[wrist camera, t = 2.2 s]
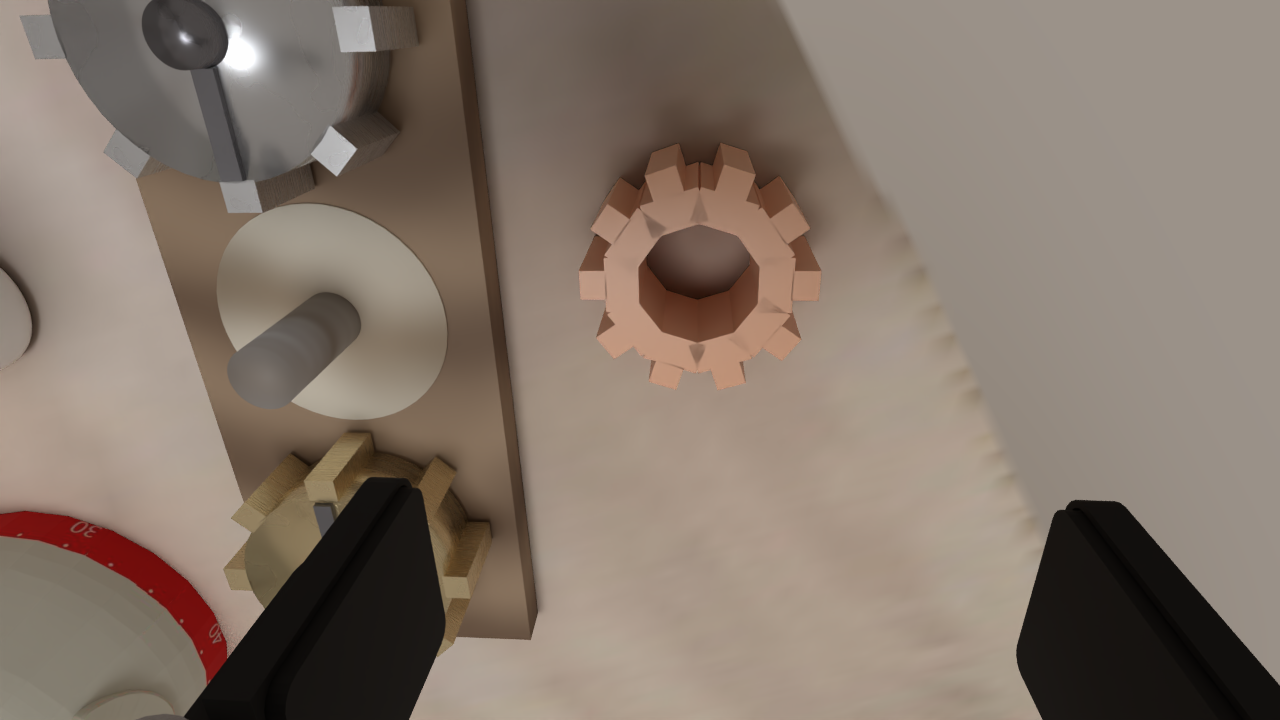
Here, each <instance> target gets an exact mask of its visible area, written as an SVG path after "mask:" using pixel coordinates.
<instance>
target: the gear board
mask: <svg viewBox="0 0 1280 720" xmlns="http://www.w3.org/2000/svg"><path fill="white" fill-rule="evenodd" d="M382 3H383V6H394V7H413V9H414V16H415V23H416V30H417V36H418V43H419V46H416V47H408V48H400V49H392V50H390V69H389V77H388V83H387V86H386V90H385V94H384V97H383V100H382V102H381V104H380V106H379V109H378V112H379V113H380V114H381V115H382V116H383V117H384V118H385V119H386V120H388V121H389V122H390V123H391V124H392V125H393V126H394V127H395V128H397V129H398V130H399V131H400V133H399V134H398V135H397V137H396V138H395V139H394V141H393V142H392V143H391V145H390V146H389V147H388V148H387V150H386V151H385V152H384V154H383V155H382V156H381V157H379V158H377V159H374V160H372V161H370V162H368V163H366V164H363V165H361V166H359V167H357V168H355V169H352V170H350V171H348V172H346V173H344V174H341V175H339V176H335V175H334V174H333V173H332V172H331V171H330V170H328V169H327V168H326V167H325V166H324V165H323V164H321V163H320V162H319V161H318V160H317V161H314V162H312V163H310V167H311V172H312V176H313V180H314V185H315V189H313V190H311V191H309V192H307V193H305V194H302V195H300V196H298V197H296V198H294V199H292V200H289V201H287V202H285V203H283V204H281V205H279V206H276V207H274V208H272V209H270V210H268V211H265V212H263V213H228V211H227V207H226V204H225V200H224V197H223V193H222V190H221V186H220V183H219V182H214V181H209V180H203V179H200V178H197V177H194V176H191V175H187V174H184V173H182V172H180V171H178V170H175V169H173V168H171V169H167V170H164V171H160V172H157V173H154V174H150V175H147V176H144V177H140V178H136V180H137V183H138V186H139V189H140V192H141V195H142V198H143V201H144V204H145V207H146V210H147V213H148V216H149V219H150V222H151V225H152V228H153V231H154V234H155V237H156V240H157V243H158V246H159V249H160V252H161V255H162V258H163V261H164V264H165V267H166V270H167V273H168V276H169V279H170V282H171V285H172V288H173V291H174V294H175V297H176V300H177V303H178V306H179V309H180V312H181V315H182V318H183V321H184V324H185V327H186V330H187V333H188V336H189V339H190V342H191V345H192V348H193V351H194V354H195V357H196V360H197V363H198V366H199V369H200V372H201V375H202V378H203V381H204V384H205V387H206V390H207V393H208V396H209V399H210V402H211V405H212V408H213V411H214V414H215V417H216V420H217V423H218V426H219V429H220V432H221V435H222V438H223V441H224V444H225V447H226V450H227V453H228V456H229V459H230V462H231V465H232V468H233V471H234V474H235V477H236V480H237V483H238V486H239V489H240V492H241V495H242V498H243V501H244V503H245V502H246V500H247V499H248V498H249V497H250V496H251V495H252V494H253V493H254V492H255V491H256V490H257V489H258V487H259V486H260V485H261V484H262V483H263V482H264V481H265V480H266V479H267V478H268V477H269V476H270V474H271V473H272V472H273V471H274V470H275V469H276V468H277V467H278V466H279V465H280V464H281V463H282V461H283V460H284V459H285V458H286V457H287V456H288V455H289V454H290V453H291V454H292V455H293V456H295V457H296V458H298V459H299V460H300V461H302V462H303V463H305V464H306V465H307V466H310V465H312V464H313V463H315V462H316V461H318V460H320V459H322V458H323V457H324V456H325V455H326V454H327V452H328V451H329V450H330V449H331V448H332V446H333V445H334V444H335V443H336V442H337V441H338V439H339V438H340V437H341V436H342V435H343V433H370V434H371V439H372V443H373V447H374V452H377V453H382V454H387V455H391V456H394V457H397V458H400V459H403V460H405V461H408V462H410V463H412V464H414V465H416V466H418V467H420V468H422V469H423V468H424V467H425V466H426V465H427V464H428V463H429V462H430V461H431V460H432V459H433V458H434V457H435V456H436V457H437V458H439V459H440V460H441V461H443V462H444V463H445V464H446V465H448V466H449V467H450V468H452V469H453V470H454V471H456V472H457V473H456V475H455V477H454V479H453V481H452V483H451V484H450V486H449V488H448V490H449V491H450V492H451V493H452V494H453V496H454V497H455V498H456V499H457V501H458V502H459V504H460V505H461V507H462V509H463V511H464V513H465V515H466V517H467V520H468V522H489V525H490V531H491V538H492V544H491V547H490V549H489V552H488V554H487V557H486V560H485V562H484V565H483V567H482V570H481V572H480V575H479V578H478V580H477V583H476V585H475V586H476V587H475V589H474V592H473V594H472V597H471V599H470V602H469V605H468V607H467V610H466V612H465V615H464V618H463V620H462V623H461V625H460V628H459V631H458V633H457V636H456V637H475V638H500V639H524V640H531V637H532V633H533V629H534V626H535V622H536V618H537V614H538V611H537V603H536V594H535V586H534V577H533V569H532V561H531V552H530V544H529V535H528V527H527V518H526V510H525V501H524V493H523V484H522V476H521V467H520V459H519V450H518V442H517V433H516V425H515V416H514V408H513V399H512V391H511V382H510V374H509V365H508V357H507V348H506V340H505V331H504V323H503V315H502V306H501V298H500V289H499V281H498V272H497V264H496V255H495V247H494V238H493V230H492V221H491V213H490V204H489V196H488V187H487V179H486V170H485V162H484V153H483V145H482V136H481V128H480V119H479V111H478V102H477V94H476V85H475V77H474V69H473V60H472V52H471V43H470V35H469V26H468V18H467V9H466V1H465V0H382Z"/></svg>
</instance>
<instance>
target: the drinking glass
mask: <svg viewBox="0 0 1280 720" xmlns="http://www.w3.org/2000/svg"><path fill="white" fill-rule="evenodd" d="M31 335H32V320H31V314H30V311H29V308H28V305H27V303H26V301H25V298H24V297H23V295H22V293H21V291H20V290H19V288H18V287H17V285H16V284H15V283H14V282H13V280H12V279H11V278H10V277H9V276H8V275H7V274H6V273H5V272H4V271H3V270H2V269H1V268H0V371H1V370H3V369H5V368H6V367H8V366H10V365H11V364H13V363H14V362H16V361H17V360H18V359H19V358H20V357H21V356H22V355H23V353H24V352H25V351H26V349H27V347H28V345H29V342H30V340H31Z"/></svg>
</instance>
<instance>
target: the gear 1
mask: <svg viewBox="0 0 1280 720" xmlns="http://www.w3.org/2000/svg"><path fill="white" fill-rule="evenodd" d="M48 4H49V9H50V14H51V15H27V16H20V19H21V22H22V24H23V27H24V30H25V32H26V35H27V38H28V41H29V43H30V46H31V49H32V51H33V54H34V57H35V59H65V58H66V60H67V62H68V63H69V65H70V67H71V69H72V71H73V73H74V75H75V77H76V79H77V80H78V82H79V83H80V85H81V86H82V88H83V89H84V91H85V92H86V94H87V95H88V97H89V98H90V99H91V101H92V102H93V103H94V104H95V106H96V107H97V108H98V110H99V111H100V112H101V113H102V115H103V116H104V117H105V118H106V119H107V120H108V121H109V122H110V123H111V124H112V125H113V126H114V127H115V128H116V130H115V132H114V134H113V136H112V138H111V139H110V141H109V143H108V145H107V146H106V148H105V150H104V153H105V154H106V155H108V156H109V157H110V158H111V159H113V160H114V161H115V162H116V163H118V164H119V165H120V166H122V167H123V168H124V169H125V170H127V171H128V172H129V173H131V174H132V175H133V176H134V177H136V178H140V177H144V176H147V175H150V174H154V173H157V172H160V171H164V170H167V169H171V168H173V169H175V170H178V171H180V172H182V173H184V174H187V175H191V176H194V177H197V178H200V179H203V180H209V181H214V182H219V183H220V186H221V190H222V193H223V197H224V200H225V204H226V207H227V211H228V213H263V212H265V211H268V210H270V209H272V208H274V207H276V206H279V205H281V204H283V203H285V202H287V201H289V200H292V199H294V198H296V197H298V196H300V195H302V194H305V193H307V192H309V191H311V190H313V189H315V185H314V180H313V176H312V172H311V167H310V163H312V162H314V161H317V160H318V161H319V162H320V163H321V164H323V165H324V166H325V167H326V168H327V169H328V170H330V171H331V172H332V173H333V174H334V175H335V176H339V175H341V174H344V173H346V172H348V171H350V170H352V169H355V168H357V167H359V166H361V165H363V164H366V163H368V162H370V161H372V160H374V159H377V158H379V157H381V156H382V155H383V154H384V152H385V151H386V150H387V148H388V147H389V146H390V145H391V143H392V142H393V141H394V139H395V138H396V137H397V135H398V134H399V133H400V131H399V130H398V129H397V128H395V127H394V126H393V125H392V124H391V123H390V122H389V121H388V120H386V119H385V118H384V117H383V116H382V115H381V114H380V113H379V112H378V109H379V106H380V104H381V102H382V100H383V97H384V94H385V90H386V86H387V83H388V77H389V69H390V50H392V49H400V48H408V47H416V46H419V43H418V36H417V30H416V23H415V16H414V9H413V7H394V6H383V3H382V0H48Z"/></svg>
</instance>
